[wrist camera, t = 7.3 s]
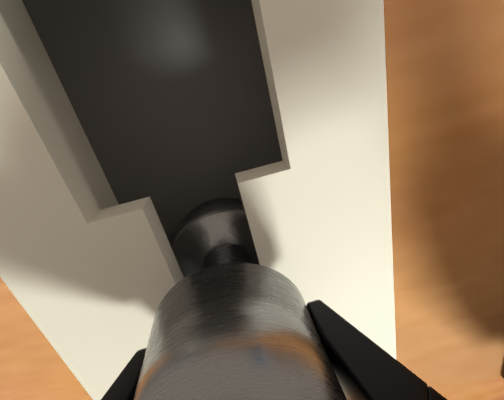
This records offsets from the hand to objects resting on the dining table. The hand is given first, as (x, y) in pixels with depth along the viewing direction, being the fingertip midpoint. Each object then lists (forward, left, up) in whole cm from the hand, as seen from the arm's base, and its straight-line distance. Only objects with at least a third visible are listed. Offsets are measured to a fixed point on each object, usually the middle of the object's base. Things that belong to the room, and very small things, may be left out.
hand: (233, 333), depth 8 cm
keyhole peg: (0, 0, -5) cm, 5 cm away
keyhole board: (+2, 0, -6) cm, 6 cm away
